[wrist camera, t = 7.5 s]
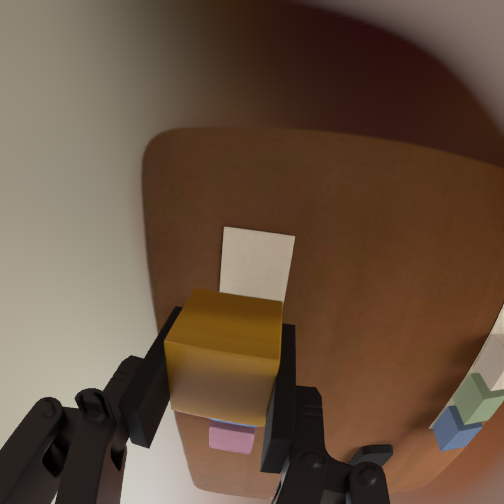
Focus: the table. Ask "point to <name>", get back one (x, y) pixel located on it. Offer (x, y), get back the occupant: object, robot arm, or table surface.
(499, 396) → the white strip with cubes
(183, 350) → the block
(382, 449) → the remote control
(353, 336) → the table surface
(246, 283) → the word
